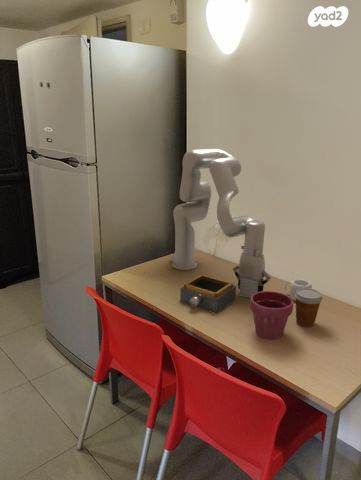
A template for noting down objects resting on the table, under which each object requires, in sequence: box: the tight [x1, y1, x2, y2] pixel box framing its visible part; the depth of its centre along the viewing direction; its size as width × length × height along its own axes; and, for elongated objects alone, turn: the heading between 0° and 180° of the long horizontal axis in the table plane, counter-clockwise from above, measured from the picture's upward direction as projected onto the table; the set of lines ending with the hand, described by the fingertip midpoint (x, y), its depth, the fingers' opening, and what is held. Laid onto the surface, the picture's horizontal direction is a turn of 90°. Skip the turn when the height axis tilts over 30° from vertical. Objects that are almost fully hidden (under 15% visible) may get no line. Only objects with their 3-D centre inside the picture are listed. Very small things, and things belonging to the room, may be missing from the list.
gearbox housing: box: [179, 274, 237, 315], centre depth 158 cm, size 17×19×8 cm
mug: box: [284, 278, 313, 302], centre depth 162 cm, size 12×8×8 cm
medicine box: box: [238, 277, 261, 299], centre depth 163 cm, size 8×4×9 cm, turn 57°
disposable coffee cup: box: [295, 288, 323, 328], centre depth 142 cm, size 10×10×12 cm
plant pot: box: [249, 290, 294, 340], centre depth 136 cm, size 14×14×13 cm
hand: (250, 290), depth 164 cm, fingers closed on medicine box, 8 cm apart
